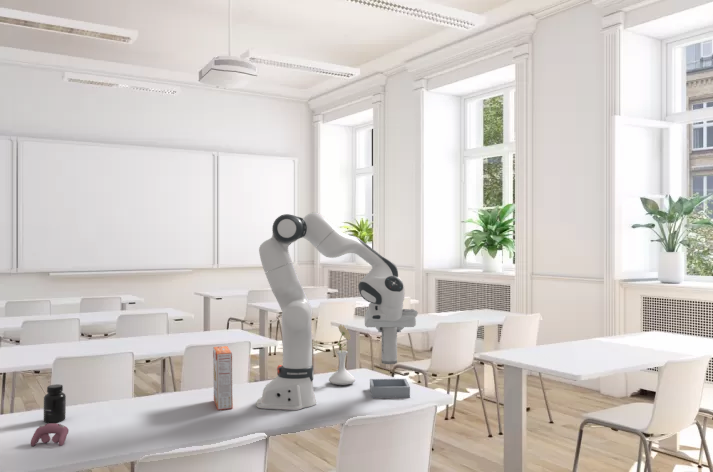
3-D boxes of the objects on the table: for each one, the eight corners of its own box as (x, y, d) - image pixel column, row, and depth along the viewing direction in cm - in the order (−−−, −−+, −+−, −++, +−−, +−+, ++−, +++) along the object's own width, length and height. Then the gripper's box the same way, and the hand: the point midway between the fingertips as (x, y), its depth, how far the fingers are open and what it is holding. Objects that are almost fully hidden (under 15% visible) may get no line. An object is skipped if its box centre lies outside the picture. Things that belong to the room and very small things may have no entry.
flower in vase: (357, 386, 260) (357, 327, 260) (330, 387, 259) (330, 327, 259) (353, 379, 273) (353, 322, 273) (327, 380, 272) (327, 323, 272)
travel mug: (397, 361, 252) (397, 312, 253) (396, 364, 246) (396, 313, 246) (382, 361, 253) (382, 312, 253) (381, 364, 246) (380, 313, 247)
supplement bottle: (41, 424, 209) (41, 388, 209) (45, 418, 215) (45, 384, 215) (63, 422, 211) (63, 387, 211) (67, 417, 217) (67, 382, 217)
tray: (371, 397, 242) (371, 387, 242) (369, 388, 256) (369, 379, 256) (409, 397, 243) (409, 387, 243) (405, 388, 257) (405, 378, 257)
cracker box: (212, 400, 238) (212, 346, 238) (228, 399, 240) (228, 345, 240) (216, 410, 225) (216, 353, 225) (232, 409, 227) (232, 352, 227)
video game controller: (67, 447, 191) (71, 424, 194) (61, 445, 187) (66, 421, 190) (34, 448, 190) (39, 424, 194) (28, 445, 186) (33, 422, 190)
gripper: (417, 303, 242) (414, 324, 252) (365, 303, 242) (363, 324, 252) (418, 316, 238) (415, 337, 248) (365, 316, 237) (364, 337, 247)
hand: (389, 331), depth 250 cm, fingers closed on travel mug, 6 cm apart
